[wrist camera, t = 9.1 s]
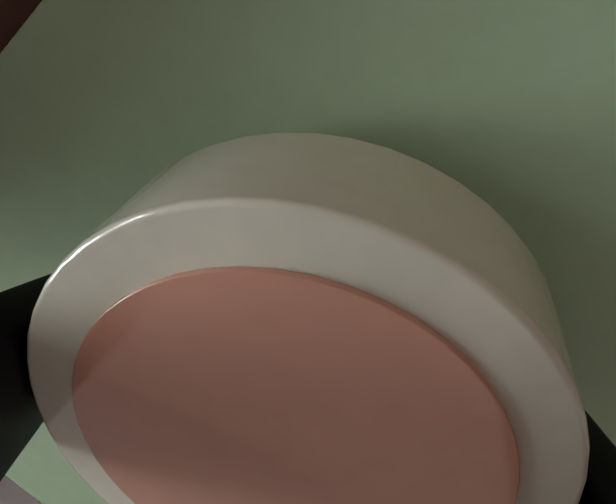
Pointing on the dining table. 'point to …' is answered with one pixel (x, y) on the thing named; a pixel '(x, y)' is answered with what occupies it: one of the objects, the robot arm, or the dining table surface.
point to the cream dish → (307, 339)
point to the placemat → (320, 131)
